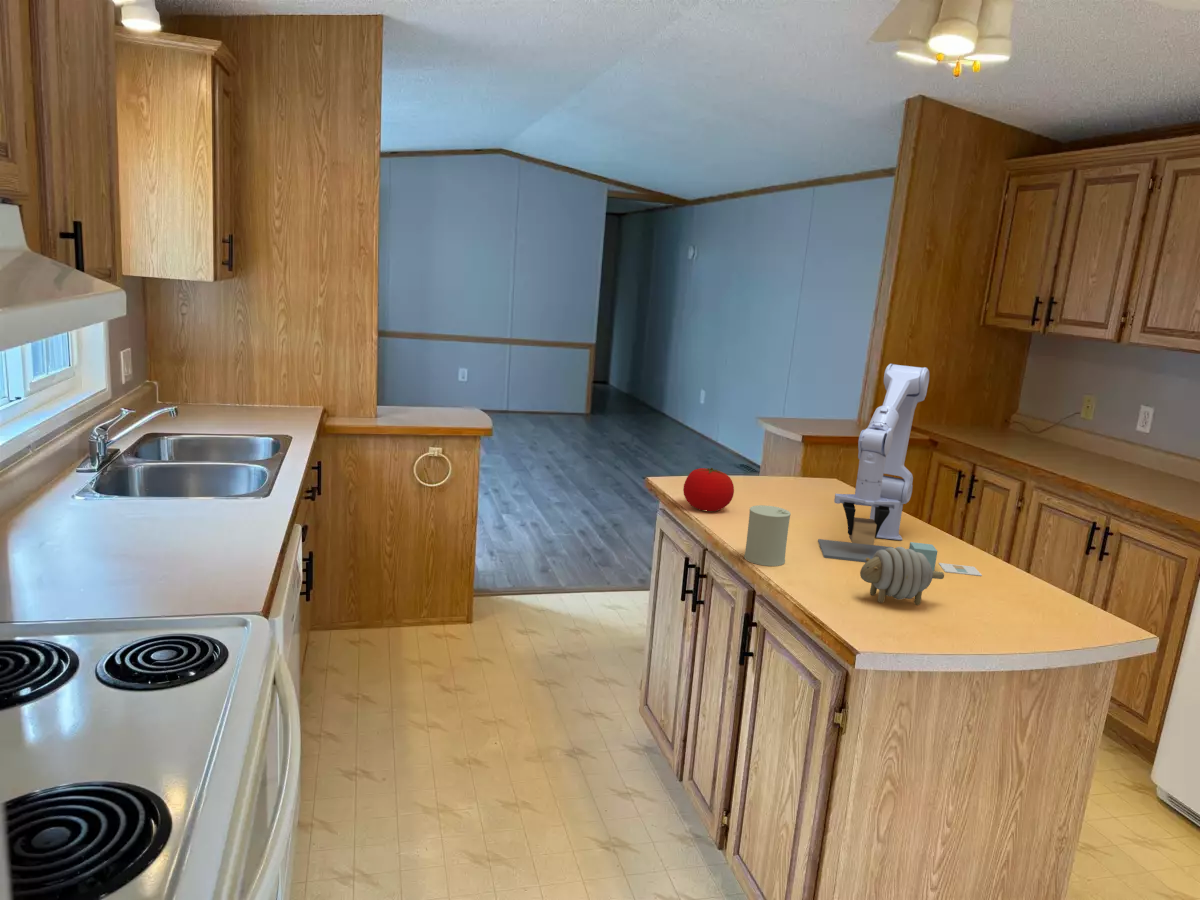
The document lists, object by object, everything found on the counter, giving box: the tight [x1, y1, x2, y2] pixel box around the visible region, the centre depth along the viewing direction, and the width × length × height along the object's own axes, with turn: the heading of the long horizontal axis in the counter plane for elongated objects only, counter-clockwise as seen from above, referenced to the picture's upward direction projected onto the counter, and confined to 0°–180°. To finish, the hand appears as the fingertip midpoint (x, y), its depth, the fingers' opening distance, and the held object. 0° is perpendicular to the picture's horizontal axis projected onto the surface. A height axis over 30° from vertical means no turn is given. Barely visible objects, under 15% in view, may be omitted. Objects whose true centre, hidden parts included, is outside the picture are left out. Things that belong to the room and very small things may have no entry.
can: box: [743, 504, 791, 567], centre depth 188 cm, size 9×9×12 cm
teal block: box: [908, 541, 938, 571], centre depth 192 cm, size 5×5×5 cm
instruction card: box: [938, 562, 983, 577], centre depth 192 cm, size 6×8×1 cm
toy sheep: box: [859, 546, 945, 606], centre depth 169 cm, size 11×17×11 cm, turn 96°
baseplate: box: [817, 538, 894, 563], centre depth 199 cm, size 13×18×1 cm
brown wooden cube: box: [848, 516, 877, 545], centre depth 198 cm, size 5×5×5 cm
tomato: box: [682, 467, 735, 512], centre depth 228 cm, size 13×14×12 cm
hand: (861, 535), depth 198 cm, fingers closed on brown wooden cube, 5 cm apart
